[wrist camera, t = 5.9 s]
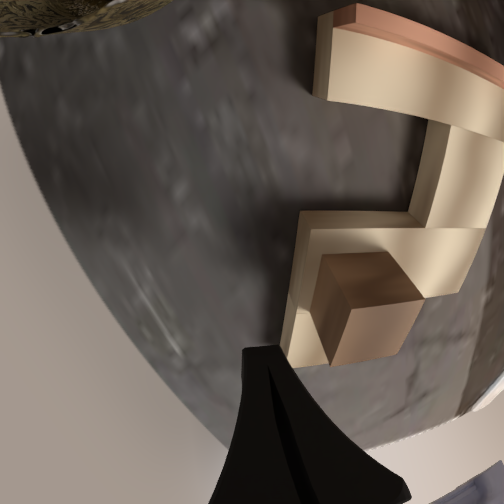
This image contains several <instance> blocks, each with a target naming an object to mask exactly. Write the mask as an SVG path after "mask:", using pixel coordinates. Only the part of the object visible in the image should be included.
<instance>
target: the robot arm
mask: <svg viewBox="0 0 504 504" xmlns="http://www.w3.org/2000/svg"><path fill="white" fill-rule="evenodd" d="M241 378H242V395H241V402H240V407H239V412H238V417H237V422H236V426H235V430H234V434H233V438H232V441H231V445H230V448H229V451H228V455H227V458H226V461H225V464H224V467H223V469H222V472H221V475H220V477H219V480H218V482H217V485H216V488H215V490H214V492H213V494H212V497H211V499H210V501H209V503H208V504H403V503H405V502H407V501H409V500H410V499H411V498H412V496H411V494H410V491H409V489H408V487H407V485H406V483H405V481H404V480H403V478H402V477H400V476H398V475H397V474H395V473H393V472H392V471H390V470H389V469H387V468H386V467H384V466H383V465H381V464H380V463H378V462H377V461H376V460H375V459H373V458H372V457H370V456H369V455H368V454H367V453H366V452H364V451H363V450H362V449H361V448H360V447H358V446H357V445H356V444H355V443H354V442H353V441H351V440H350V439H349V438H348V437H347V436H346V435H345V434H344V433H343V432H342V431H341V430H340V429H339V428H338V427H337V426H336V425H335V424H334V423H333V422H332V421H331V419H330V418H329V417H328V416H327V415H326V414H325V413H324V411H323V410H322V409H321V408H320V406H319V405H318V404H317V403H316V401H315V400H314V399H313V398H312V396H311V395H310V393H309V392H308V391H307V389H306V388H305V386H304V385H303V384H302V382H301V381H300V379H299V378H298V376H297V375H296V373H295V371H294V370H293V368H292V366H291V365H290V363H289V361H288V360H287V358H286V356H285V354H284V352H283V350H282V348H281V346H279V345H270V346H259V347H247V348H244V349H243V350H242V373H241ZM429 504H504V465H503V463H502V461H501V460H500V461H498V462H497V463H495V464H494V465H493V466H491V467H489V468H488V469H487V470H485V471H484V472H482V473H480V474H478V475H476V476H475V477H473V478H471V479H470V480H468V481H467V482H465V483H464V484H462V485H460V486H458V487H457V488H456V489H455V490H453V491H452V492H450V493H448V494H446V495H444V496H443V497H441V498H439V499H437V500H435V501H433V502H431V503H429Z"/></svg>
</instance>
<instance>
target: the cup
mask: <svg viewBox="0 0 504 504" xmlns="http://www.w3.org/2000/svg"><path fill="white" fill-rule="evenodd" d="M171 1H173V0H0V37H28V36H34V38H35V37H40V36H44V35H49V34H60V33H71V32H84V31H94V30H101V29H107V28H112V27H116V26H121V25H124V24H128V23H131V22H134V21H136V20H139V19H141V18H143V17H146V16H148V15H150V14H152V13H154V12H155V11H157V10H159V9H161V8H162V7H164V6H165V5H167V4H168V3H170V2H171Z"/></svg>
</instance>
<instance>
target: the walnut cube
mask: <svg viewBox="0 0 504 504" xmlns="http://www.w3.org/2000/svg"><path fill="white" fill-rule="evenodd" d="M424 301H425V298H424V297H423V295H422V294H421V293H420V291H419V290H418V289H417V287H416V286H415V285H414V283H413V282H412V281H411V280H410V278H409V277H408V276H407V274H406V273H405V272H404V271H403V269H402V268H401V267H400V265H399V264H398V263H397V262H396V260H395V259H394V258H393V257H392V255H391V254H390V253H389V252H365V253H341V254H322V257H321V262H320V267H319V271H318V276H317V281H316V285H315V290H314V294H313V299H312V303H311V307H310V315H311V317H312V320H313V323H314V325H315V328H316V330H317V333H318V336H319V338H320V341H321V344H322V346H323V349H324V352H325V354H326V357H327V360H328V362H329V365H330V367H333V366H339V365H345V364H351V363H356V362H362V361H367V360H372V359H377V358H381V357H386V356H391V355H395V354H397V353H398V351H399V349H400V347H401V346H402V344H403V342H404V340H405V338H406V337H407V335H408V333H409V331H410V329H411V327H412V325H413V323H414V321H415V319H416V317H417V315H418V313H419V311H420V309H421V307H422V305H423V303H424Z"/></svg>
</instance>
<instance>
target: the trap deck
mask: <svg viewBox="0 0 504 504" xmlns="http://www.w3.org/2000/svg"><path fill="white" fill-rule="evenodd" d="M312 96H315V97H318V98H321V99H324V100H328V101H336V102H343V103H350V104H357V105H363V106H369V107H375V108H380V109H386V110H391V111H396V112H401V113H405V114H410V115H414V116H418V117H423V118H427V119H428V125H427V130H426V136H425V141H424V146H423V151H422V156H421V160H420V165H419V169H418V174H417V178H416V182H415V186H414V190H413V194H412V198H411V202H410V206H409V209H408V212H394V211H300V214H299V221H298V229H297V236H296V244H295V251H294V258H293V265H292V272H291V278H290V285H289V291H288V298H287V304H286V311H285V317H284V323H283V329H282V335H281V341H280V346H281V348H282V350H283V352H284V354H285V356H286V358H287V360H288V361H289V363H290V365H291V366H292V368H298V367H305V366H312V365H319V364H326V363H329V362H328V360H327V357H326V354H325V352H324V349H323V346H322V344H321V341H320V338H319V336H318V333H317V330H316V328H315V325H314V323H313V320H312V317H311V315H310V307H311V303H312V299H313V294H314V290H315V285H316V281H317V276H318V271H319V267H320V262H321V257H322V254H341V253H365V252H389V253H390V254H391V255H392V257H393V258H394V259H395V260H396V262H397V263H398V264H399V265H400V267H401V268H402V269H403V271H404V272H405V273H406V274H407V276H408V277H409V278H410V280H411V281H412V282H413V283H414V285H415V286H416V287H417V289H418V290H419V291H420V293H421V294H422V295H423V297H424V298H428V297H434V296H440V295H446V294H452V293H457V292H459V289H460V287H461V285H462V283H463V281H464V279H465V277H466V275H467V273H468V271H469V268H470V266H471V264H472V262H473V259H474V257H475V255H476V252H477V250H478V248H479V245H480V243H481V240H482V238H483V235H484V232H485V230H486V227H487V224H488V221H489V218H490V215H491V213H492V210H493V207H494V204H495V201H496V198H497V194H498V191H499V188H500V184H501V181H502V177H503V174H504V66H503V65H501V64H499V63H498V62H496V61H494V60H493V59H491V58H489V57H488V56H486V55H484V54H482V53H481V52H479V51H477V50H475V49H473V48H471V47H470V46H468V45H466V44H464V43H462V42H460V41H458V40H456V39H454V38H451V37H449V36H447V35H445V34H443V33H441V32H438V31H436V30H434V29H431V28H429V27H427V26H424V25H422V24H419V23H417V22H414V21H412V20H409V19H406V18H403V17H401V16H398V15H395V14H392V13H389V12H386V11H383V10H380V9H376V8H373V7H370V6H366V5H363V4H359V3H355V4H352V5H349V6H346V7H343V8H340V9H337V10H334V11H331V12H329V13H326V14H323V15H321V16H318V23H317V39H316V54H315V68H314V81H313V93H312Z"/></svg>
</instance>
